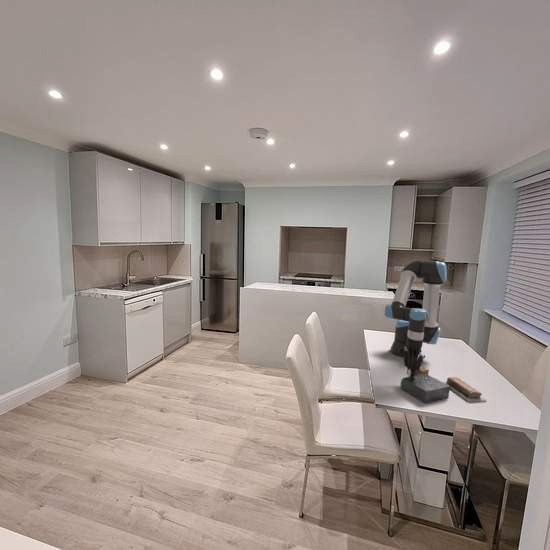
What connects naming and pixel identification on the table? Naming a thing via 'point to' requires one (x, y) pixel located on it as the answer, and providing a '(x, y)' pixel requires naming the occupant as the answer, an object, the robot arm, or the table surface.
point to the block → (421, 371)
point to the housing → (425, 388)
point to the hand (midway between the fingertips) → (409, 381)
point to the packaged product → (464, 390)
